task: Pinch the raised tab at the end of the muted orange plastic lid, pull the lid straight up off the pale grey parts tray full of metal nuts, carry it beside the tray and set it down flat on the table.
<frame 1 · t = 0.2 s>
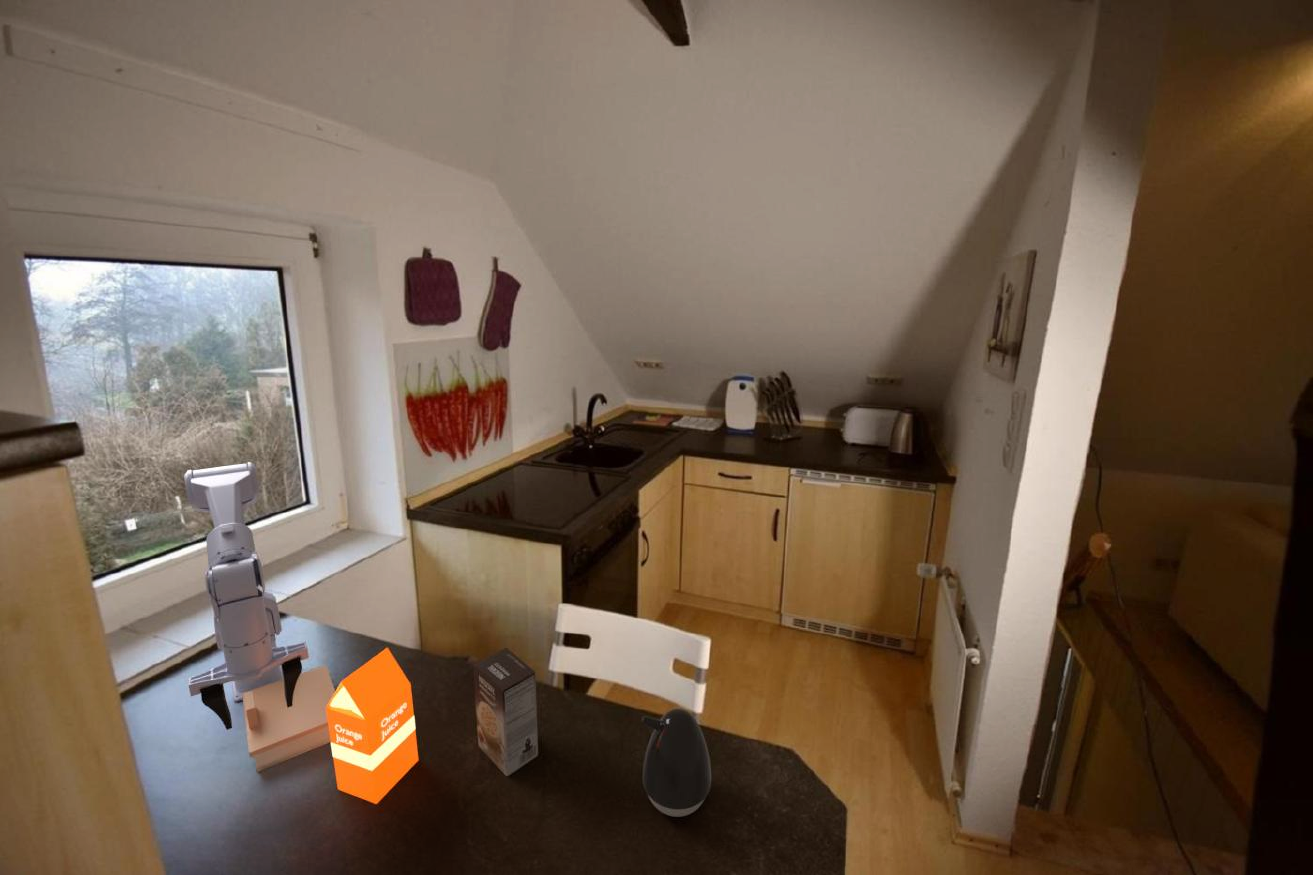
hand: (259, 713, 87), 10 cm above the table, tool pointing down, fingers open, 7 cm apart
lid: (292, 708, 97), point 3 cm above the table, touching parts tray
coffee box: (508, 752, 93), on the table
pump dispenser: (675, 800, 85), on the table
orange juice: (379, 775, 88), on the table
parts tray: (295, 725, 98), on the table
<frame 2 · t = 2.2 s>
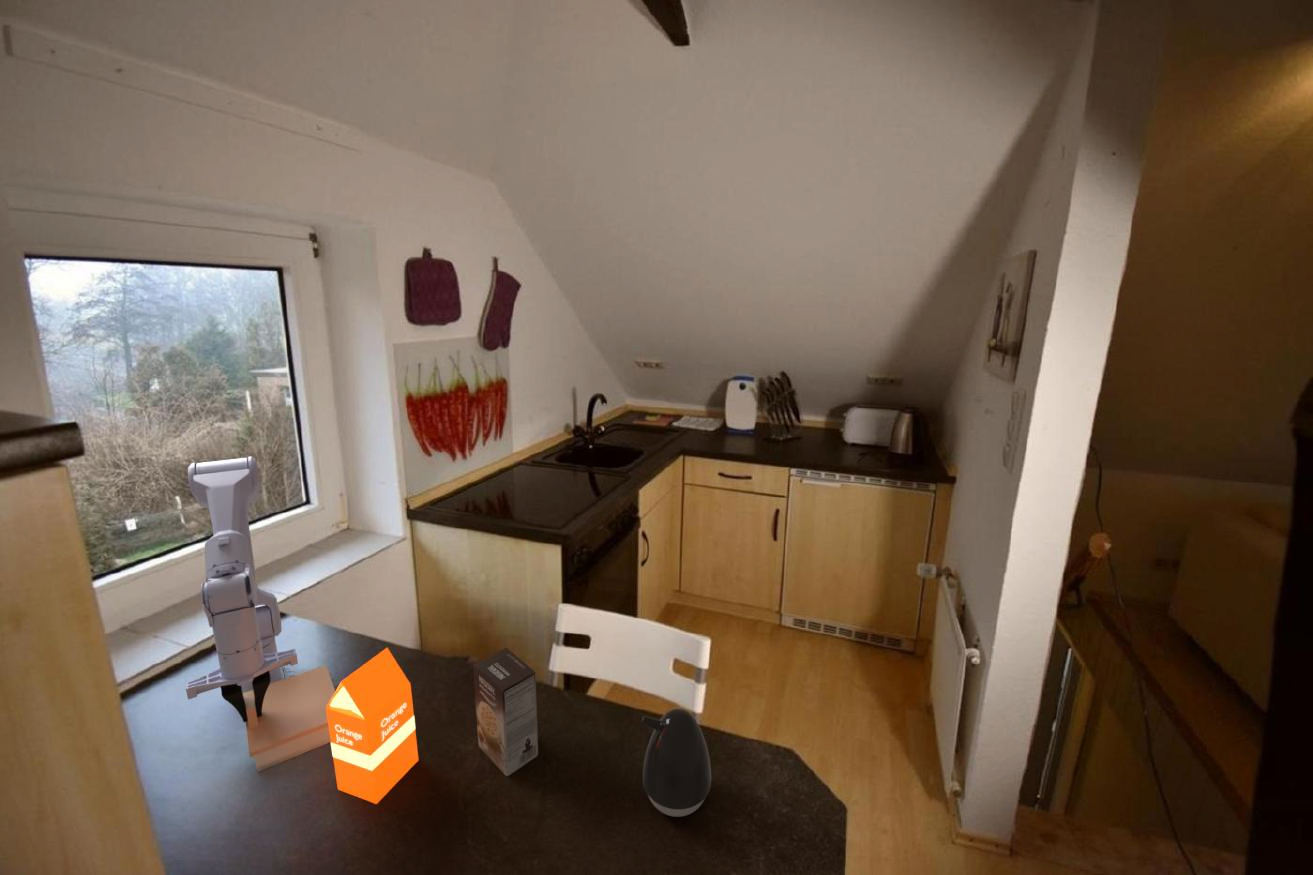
hand: (252, 715, 93), 5 cm above the table, tool pointing down, fingers closed on lid
lid: (292, 708, 97), point 3 cm above the table, touching gripper, parts tray
everything else where it was.
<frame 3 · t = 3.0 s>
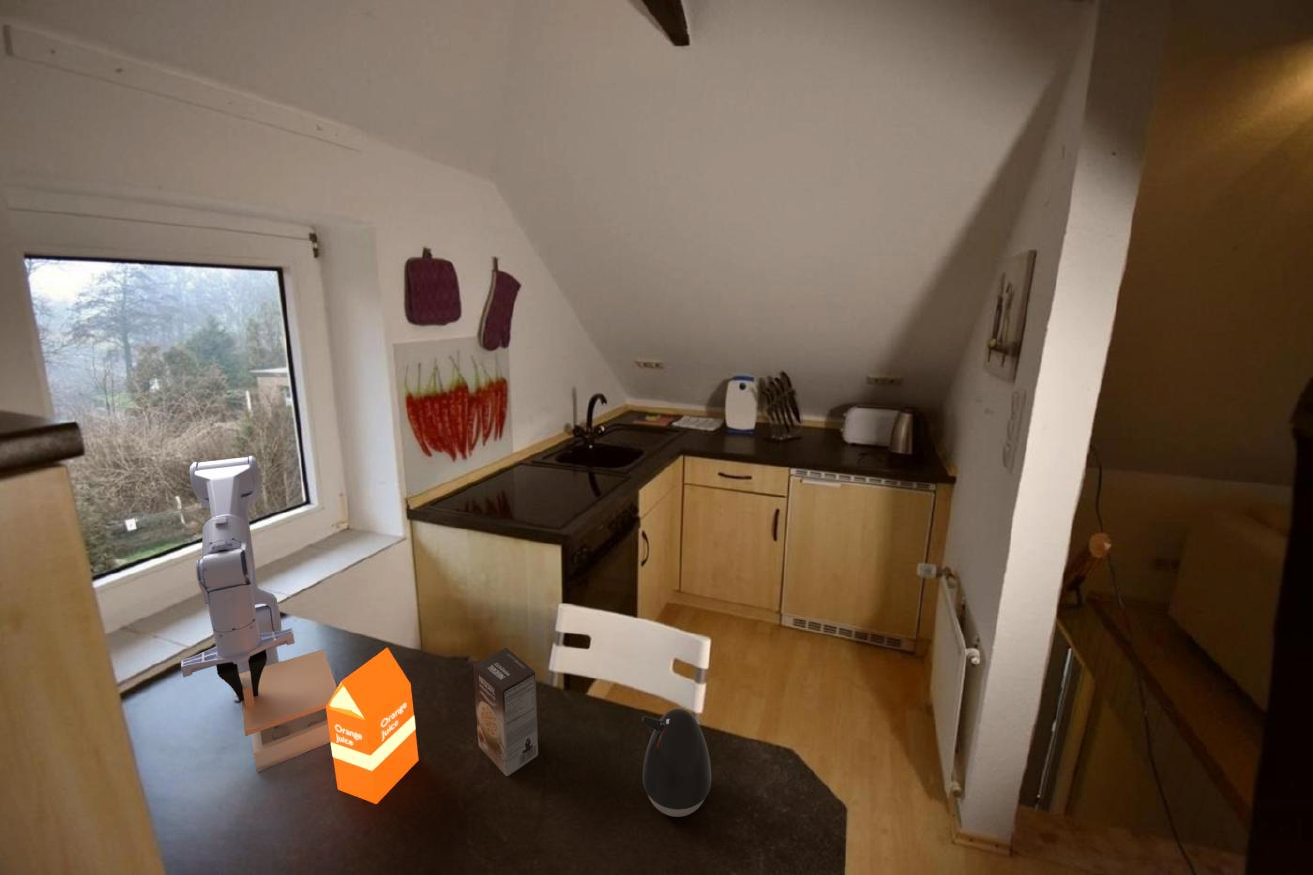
hand: (248, 695, 92), 9 cm above the table, tool pointing down, fingers closed on lid
lid: (288, 690, 96), point 7 cm above the table, touching gripper
everything else where it was.
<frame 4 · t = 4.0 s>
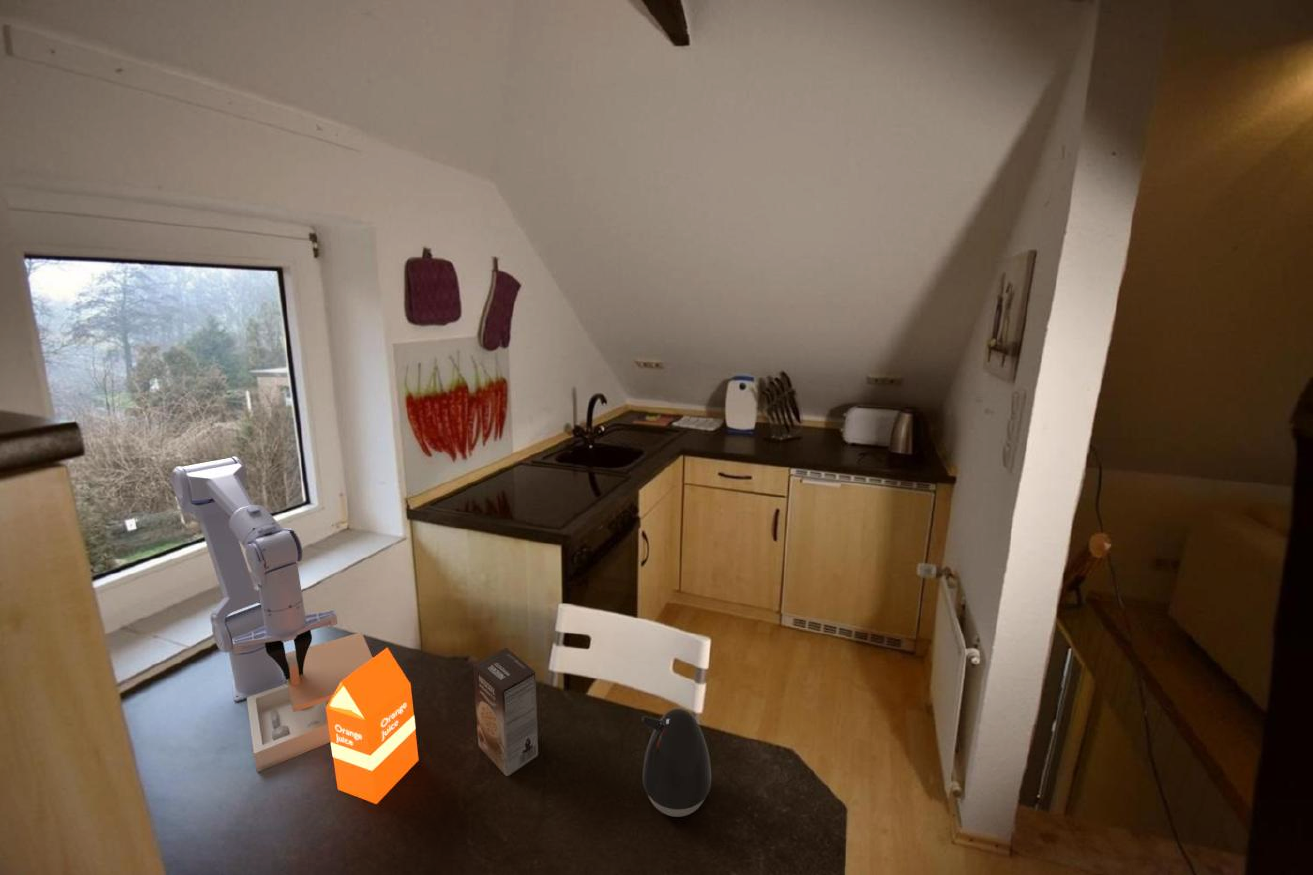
hand: (294, 673, 96), 10 cm above the table, tool pointing down, fingers closed on lid
lid: (331, 670, 100), point 8 cm above the table, touching gripper
everything else where it was.
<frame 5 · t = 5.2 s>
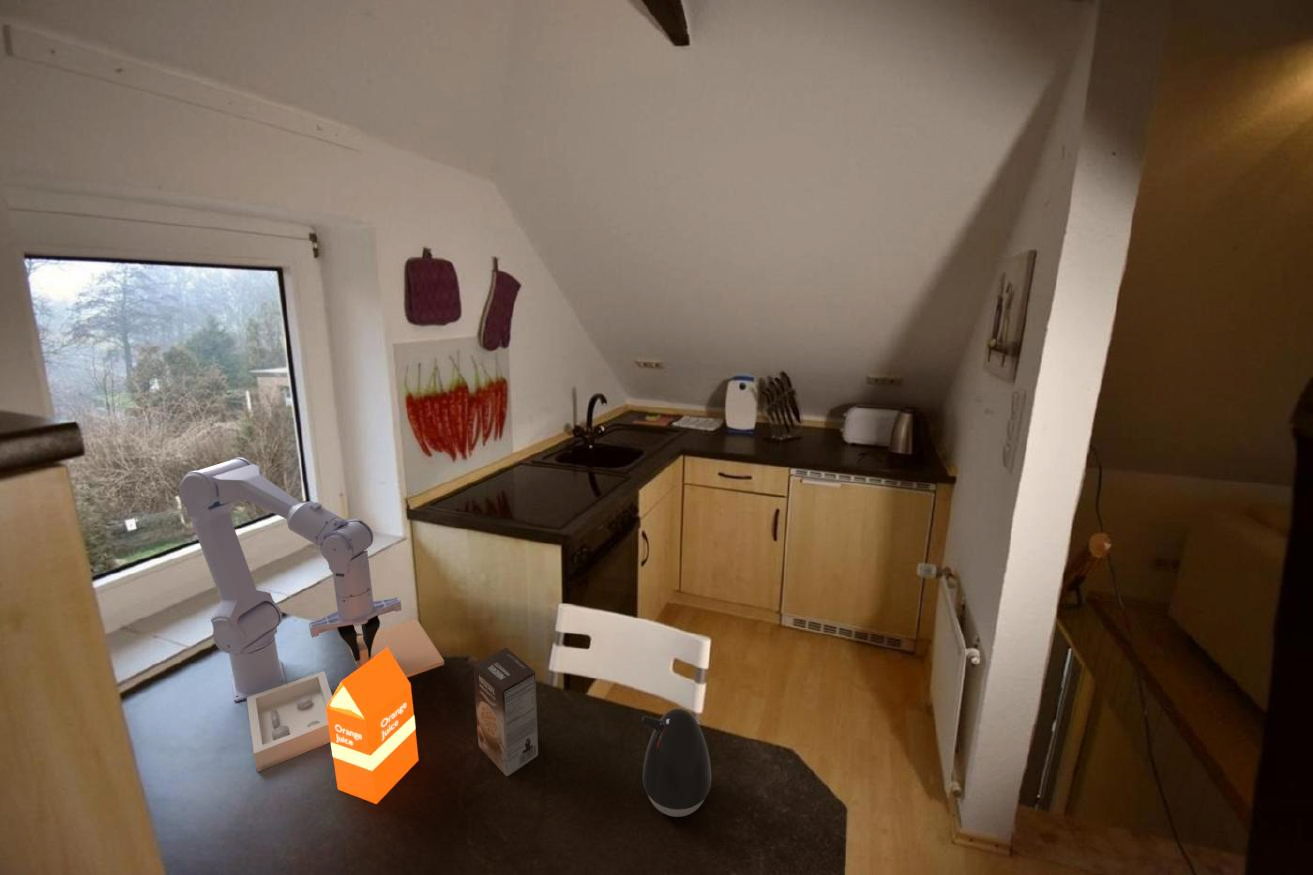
hand: (362, 656, 103), 9 cm above the table, tool pointing down, fingers closed on lid
lid: (394, 653, 106), point 7 cm above the table, touching gripper
everything else where it was.
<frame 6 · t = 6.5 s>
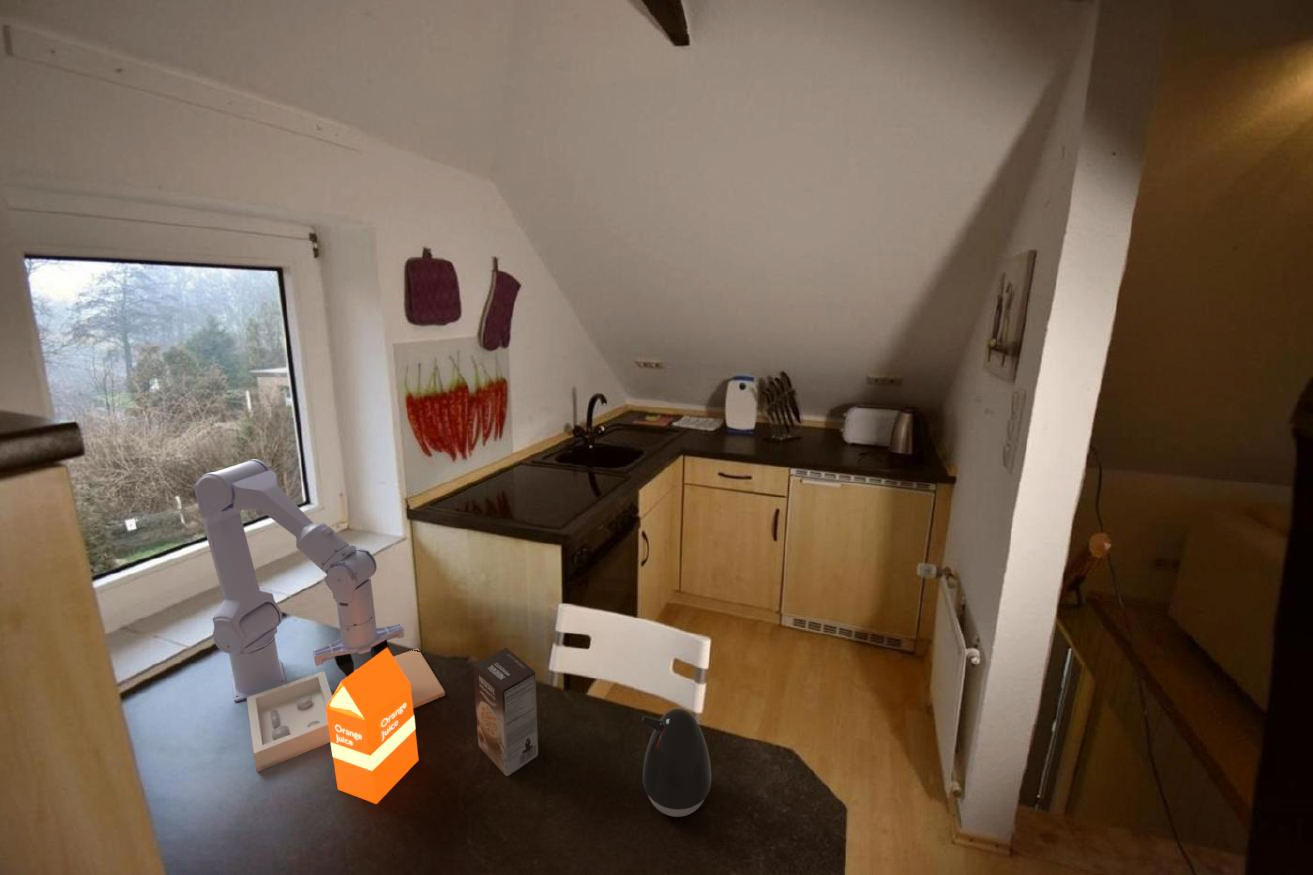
hand: (365, 682, 104), 3 cm above the table, tool pointing down, fingers open, 3 cm apart
lid: (396, 685, 108), on the table
everything else where it was.
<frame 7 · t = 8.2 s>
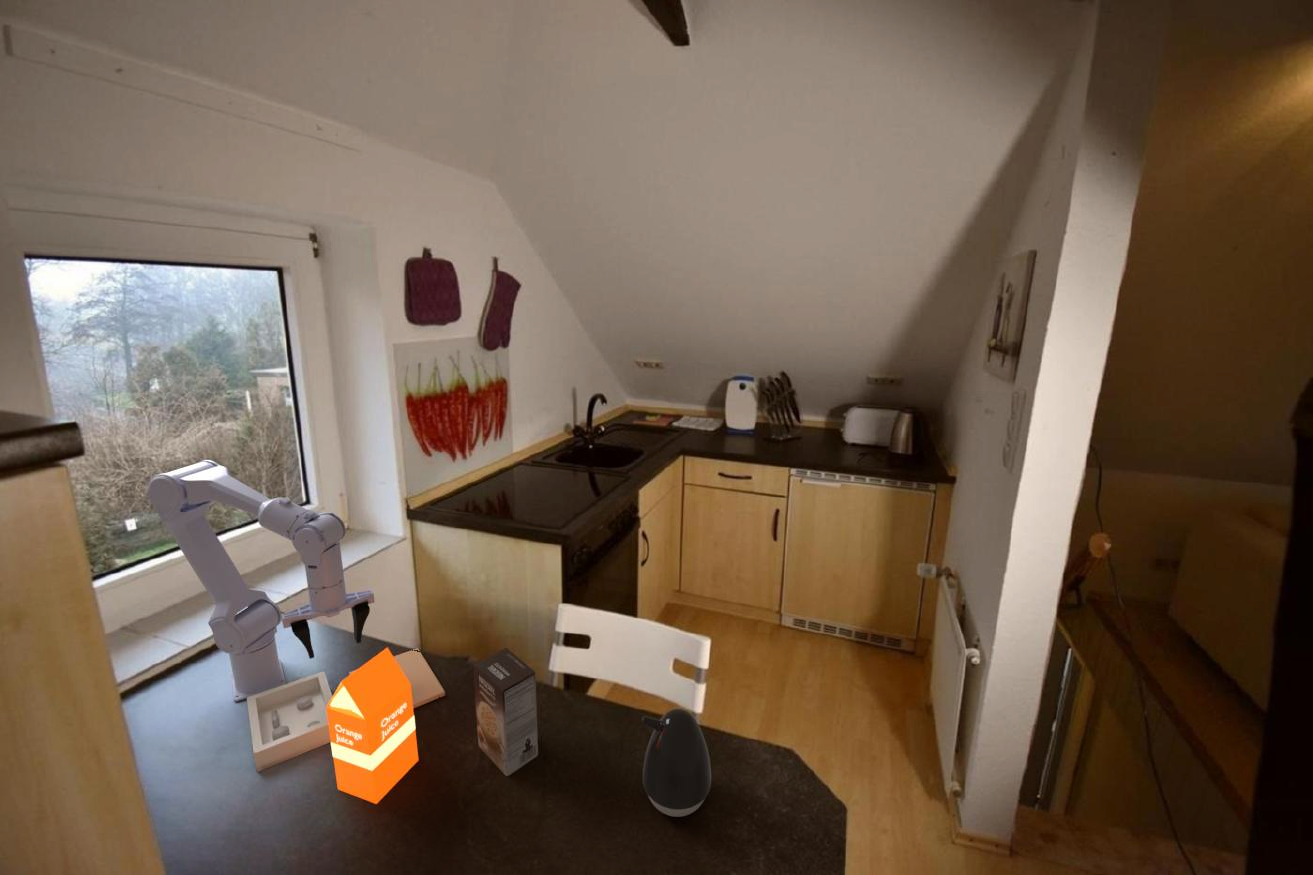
hand: (335, 647, 104), 9 cm above the table, tool pointing down, fingers open, 7 cm apart
nothing on the table moved.
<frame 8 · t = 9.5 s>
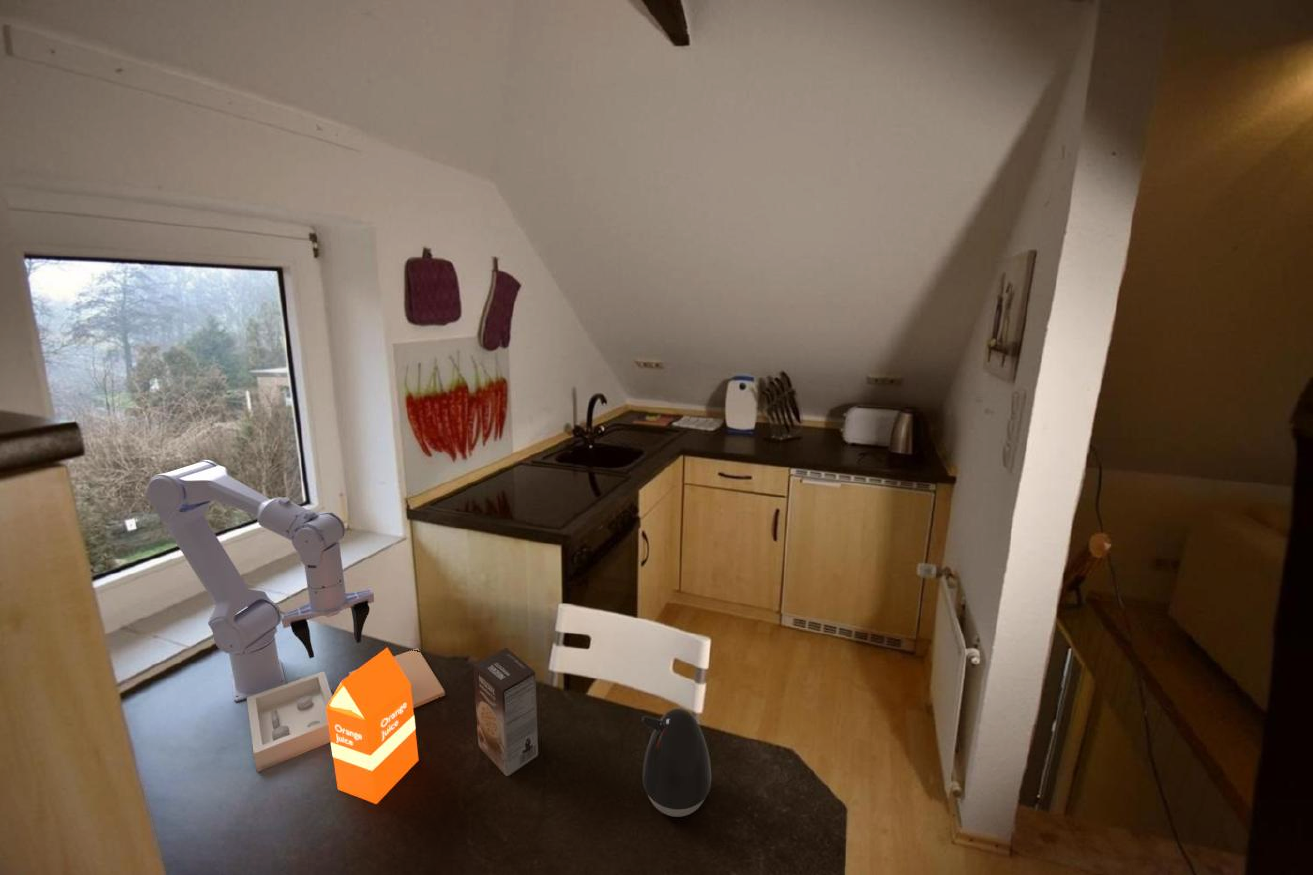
hand: (335, 647, 104), 9 cm above the table, tool pointing down, fingers open, 7 cm apart
nothing on the table moved.
at the end: lid inside the target area (0.4 cm from its centre), on the table; lid tilted 0°; the gripper is holding nothing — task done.
